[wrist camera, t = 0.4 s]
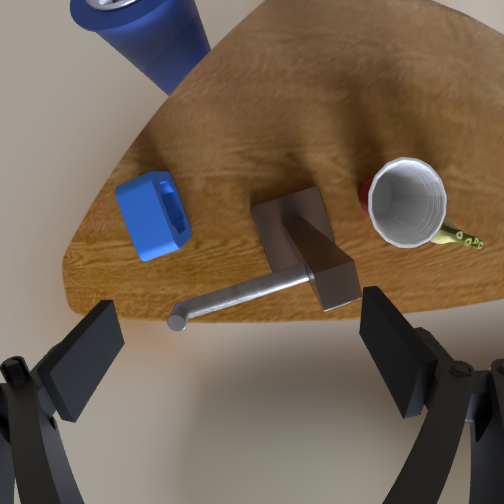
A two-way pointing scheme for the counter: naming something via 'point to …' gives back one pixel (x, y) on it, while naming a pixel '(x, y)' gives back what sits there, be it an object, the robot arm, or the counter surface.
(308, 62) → the counter surface
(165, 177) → the blue rounded square frame
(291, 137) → the counter surface
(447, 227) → the fennel bulb
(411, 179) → the plastic cup
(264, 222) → the hook stand
